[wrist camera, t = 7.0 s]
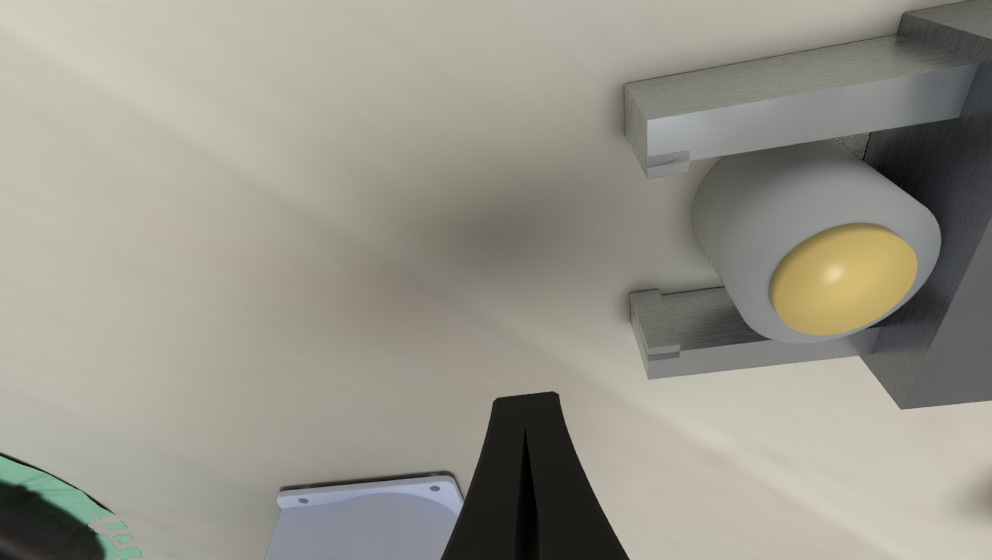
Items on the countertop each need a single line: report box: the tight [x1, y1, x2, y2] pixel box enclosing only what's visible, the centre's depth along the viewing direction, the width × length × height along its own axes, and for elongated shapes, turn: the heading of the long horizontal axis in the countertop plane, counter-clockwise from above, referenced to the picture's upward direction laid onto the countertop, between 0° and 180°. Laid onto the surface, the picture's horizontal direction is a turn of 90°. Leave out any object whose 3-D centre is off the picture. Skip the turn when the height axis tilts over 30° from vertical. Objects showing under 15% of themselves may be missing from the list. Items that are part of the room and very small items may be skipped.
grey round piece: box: [692, 138, 941, 344], centre depth 14 cm, size 5×5×4 cm
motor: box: [624, 0, 992, 410], centre depth 14 cm, size 16×10×5 cm, turn 100°
